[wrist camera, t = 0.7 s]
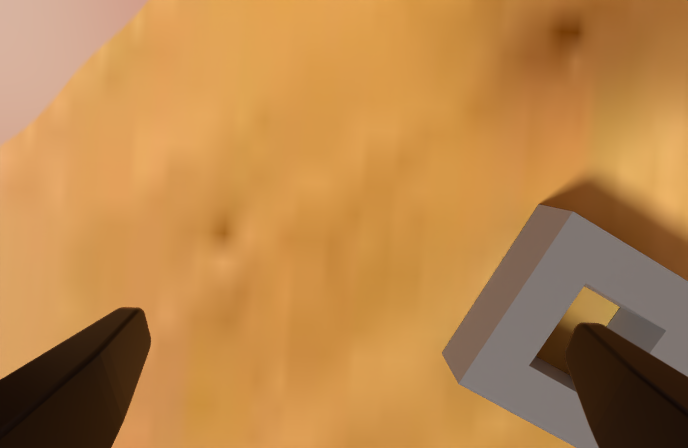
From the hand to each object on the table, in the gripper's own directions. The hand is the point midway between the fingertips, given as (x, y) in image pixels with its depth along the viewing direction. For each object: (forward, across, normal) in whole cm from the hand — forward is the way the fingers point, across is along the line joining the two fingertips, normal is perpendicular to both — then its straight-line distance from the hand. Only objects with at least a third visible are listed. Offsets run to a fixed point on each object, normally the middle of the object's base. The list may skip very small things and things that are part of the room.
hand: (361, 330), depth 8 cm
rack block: (+13, -14, +11) cm, 22 cm away
